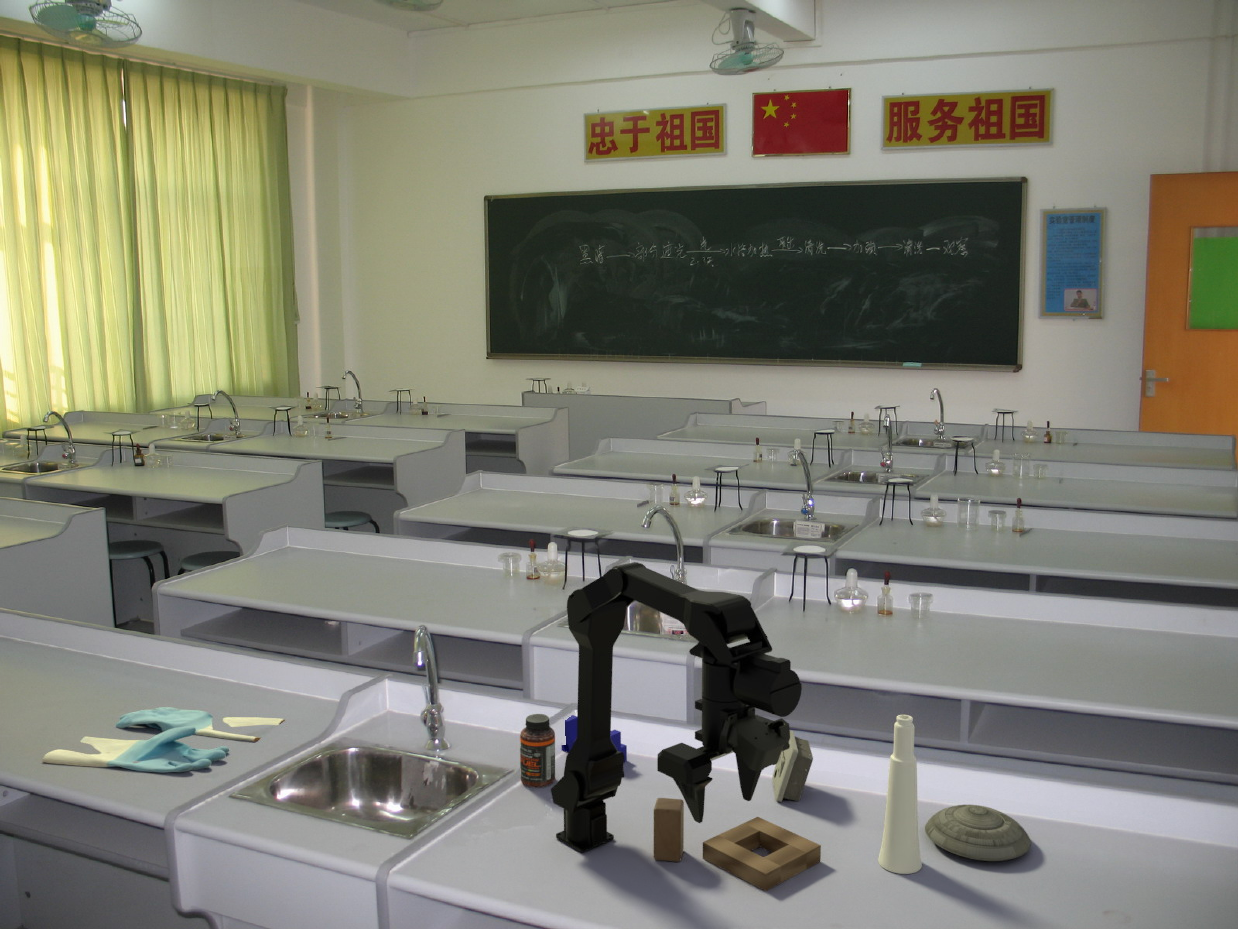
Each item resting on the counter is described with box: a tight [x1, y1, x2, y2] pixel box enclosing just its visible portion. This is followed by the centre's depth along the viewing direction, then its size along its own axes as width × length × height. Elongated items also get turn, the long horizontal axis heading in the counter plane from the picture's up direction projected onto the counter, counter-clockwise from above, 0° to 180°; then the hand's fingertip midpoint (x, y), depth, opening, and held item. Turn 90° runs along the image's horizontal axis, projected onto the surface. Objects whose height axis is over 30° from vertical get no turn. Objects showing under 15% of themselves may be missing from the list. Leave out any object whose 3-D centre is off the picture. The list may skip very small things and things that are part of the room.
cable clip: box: [561, 714, 628, 763], centre depth 191 cm, size 12×4×6 cm, turn 47°
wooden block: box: [653, 797, 685, 863], centre depth 155 cm, size 4×4×8 cm
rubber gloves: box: [41, 706, 285, 774], centre depth 199 cm, size 27×33×6 cm
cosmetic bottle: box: [878, 714, 923, 875], centre depth 151 cm, size 6×6×22 cm
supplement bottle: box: [519, 713, 556, 788], centre depth 180 cm, size 6×6×11 cm
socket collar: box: [702, 816, 822, 892], centre depth 154 cm, size 12×12×2 cm
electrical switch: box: [771, 730, 814, 803], centre depth 176 cm, size 9×5×9 cm, turn 176°
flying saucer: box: [924, 804, 1032, 862], centre depth 159 cm, size 15×15×6 cm
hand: (723, 810), depth 138 cm, fingers open, 9 cm apart
